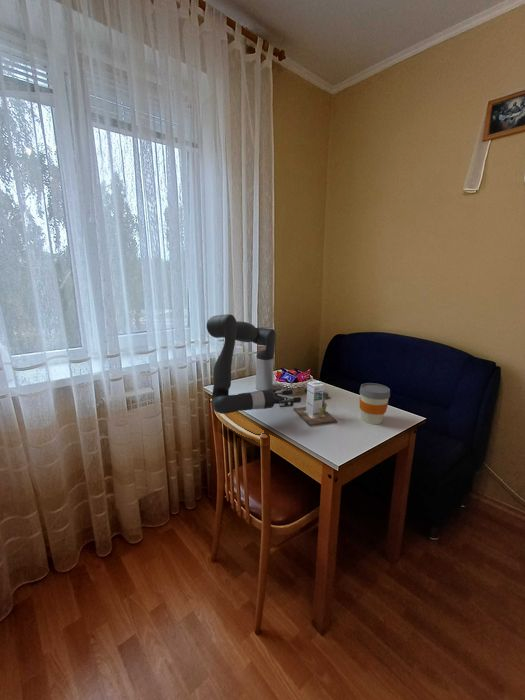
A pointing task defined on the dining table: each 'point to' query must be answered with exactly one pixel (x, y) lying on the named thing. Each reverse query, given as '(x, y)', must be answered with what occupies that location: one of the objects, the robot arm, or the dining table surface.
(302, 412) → the pin board
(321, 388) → the syrup box
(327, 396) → the walkie-talkie
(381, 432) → the dining table surface
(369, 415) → the reusable coffee cup
